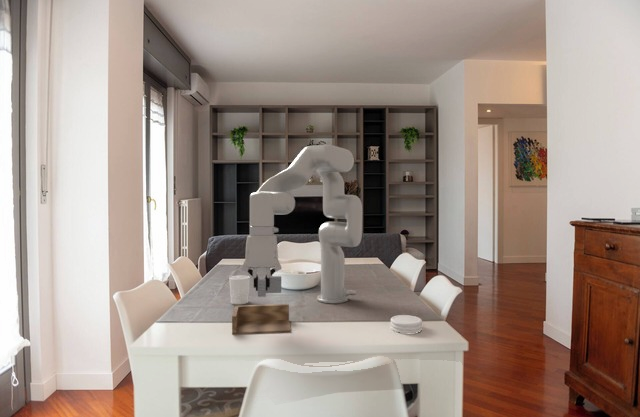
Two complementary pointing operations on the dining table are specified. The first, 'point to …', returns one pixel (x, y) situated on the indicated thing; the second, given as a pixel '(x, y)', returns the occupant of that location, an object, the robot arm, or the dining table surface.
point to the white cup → (239, 289)
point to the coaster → (406, 324)
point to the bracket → (274, 285)
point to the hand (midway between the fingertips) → (261, 289)
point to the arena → (260, 319)
